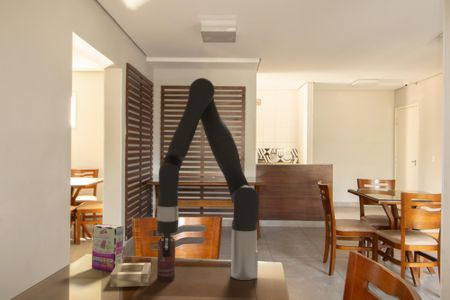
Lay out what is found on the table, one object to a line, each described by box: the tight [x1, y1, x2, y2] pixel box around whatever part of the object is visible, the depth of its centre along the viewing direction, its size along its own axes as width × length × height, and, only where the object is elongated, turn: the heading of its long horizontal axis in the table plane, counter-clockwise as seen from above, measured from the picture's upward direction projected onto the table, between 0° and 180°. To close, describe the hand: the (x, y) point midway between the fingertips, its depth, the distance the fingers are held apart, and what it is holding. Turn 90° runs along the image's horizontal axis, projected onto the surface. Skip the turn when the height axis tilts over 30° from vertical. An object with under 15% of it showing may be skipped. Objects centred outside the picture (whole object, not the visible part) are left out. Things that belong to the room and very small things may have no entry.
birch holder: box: [109, 262, 152, 288], centre depth 118 cm, size 12×12×4 cm
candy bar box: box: [91, 223, 125, 273], centre depth 130 cm, size 11×5×16 cm, turn 68°
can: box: [156, 237, 176, 283], centre depth 120 cm, size 6×6×14 cm
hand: (166, 267), depth 120 cm, fingers closed
